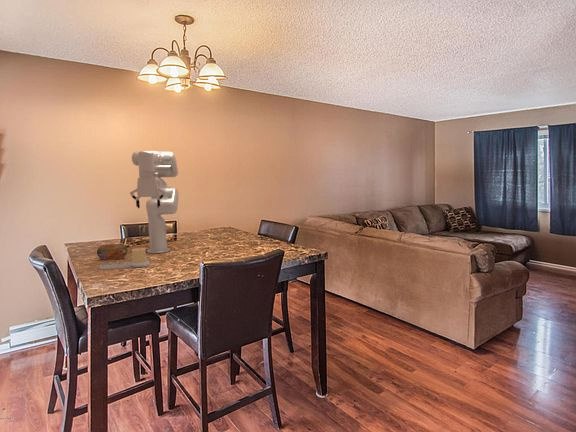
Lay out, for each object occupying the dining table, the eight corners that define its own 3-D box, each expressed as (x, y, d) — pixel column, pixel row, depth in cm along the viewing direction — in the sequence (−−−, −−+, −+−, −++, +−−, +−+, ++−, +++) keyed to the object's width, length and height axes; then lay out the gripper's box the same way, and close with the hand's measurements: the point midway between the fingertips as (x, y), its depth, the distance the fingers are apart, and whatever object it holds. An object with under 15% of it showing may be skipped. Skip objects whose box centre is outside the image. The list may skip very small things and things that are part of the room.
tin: (97, 260, 194) (96, 245, 193) (99, 259, 197) (98, 244, 196) (127, 259, 197) (126, 243, 196) (128, 257, 200) (127, 242, 199)
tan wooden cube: (133, 260, 184) (133, 248, 184) (146, 259, 186) (145, 247, 186) (132, 262, 179) (131, 250, 178) (145, 261, 181) (144, 250, 180)
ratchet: (102, 266, 182) (101, 254, 181) (149, 262, 189) (149, 251, 188) (98, 271, 173) (97, 258, 172) (148, 267, 180) (148, 255, 179)
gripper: (164, 175, 195) (165, 206, 197) (129, 175, 189) (131, 207, 191) (164, 175, 187) (165, 207, 190) (128, 175, 182) (130, 209, 184)
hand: (148, 207), depth 190 cm, fingers open, 9 cm apart
